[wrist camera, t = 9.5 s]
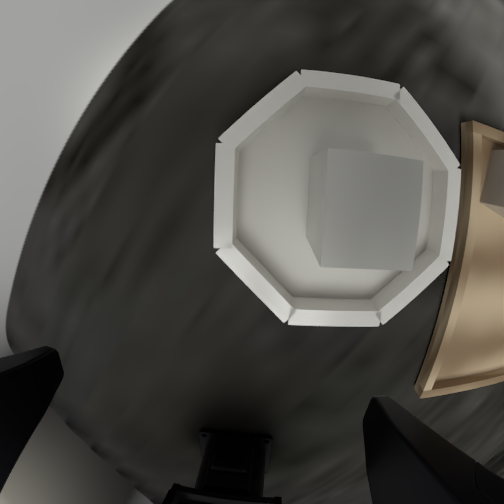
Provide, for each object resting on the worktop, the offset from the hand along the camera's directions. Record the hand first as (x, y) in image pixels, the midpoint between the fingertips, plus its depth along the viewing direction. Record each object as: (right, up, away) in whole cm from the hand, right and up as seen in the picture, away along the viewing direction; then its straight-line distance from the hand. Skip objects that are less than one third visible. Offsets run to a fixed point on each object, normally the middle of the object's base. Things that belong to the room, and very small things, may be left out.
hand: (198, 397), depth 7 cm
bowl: (+7, +7, +10) cm, 14 cm away
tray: (+22, +2, +10) cm, 25 cm away
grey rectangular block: (+7, +7, +9) cm, 13 cm away
